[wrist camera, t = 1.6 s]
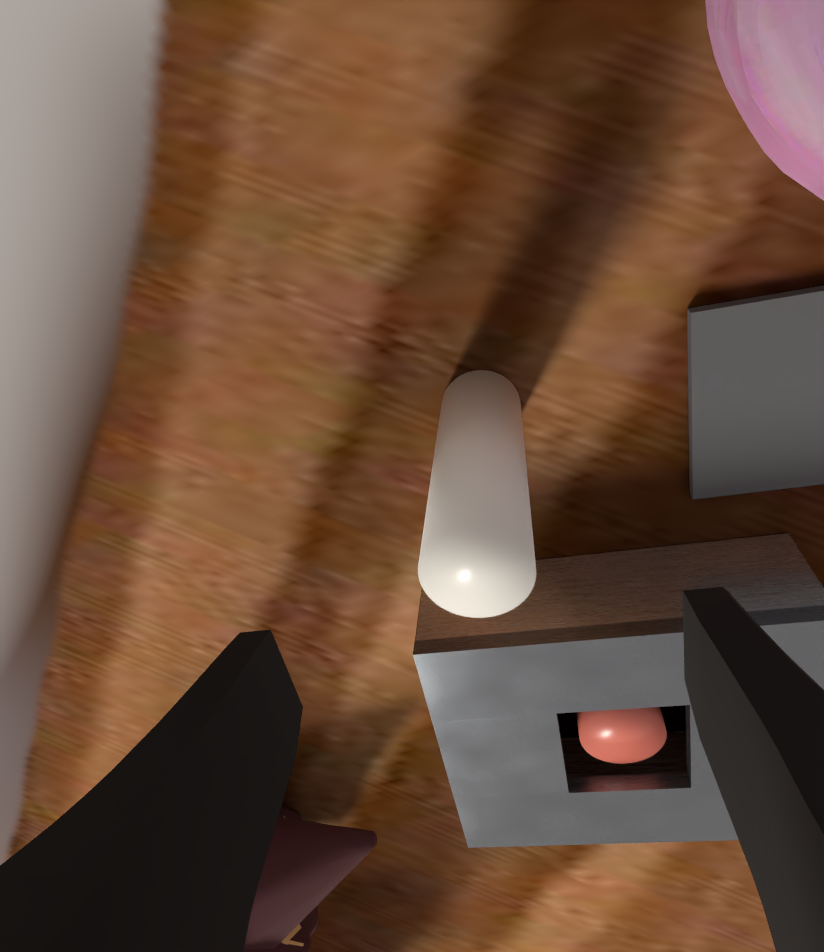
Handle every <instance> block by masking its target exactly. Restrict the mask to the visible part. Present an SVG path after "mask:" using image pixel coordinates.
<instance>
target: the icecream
mask: <svg viewBox="0 0 824 952" xmlns="http://www.w3.org/2000/svg"><path fill="white" fill-rule="evenodd" d="M376 844H377V837H376V834H375V833H374V832H373V831H368V830H363V829H356V828H348V827H341V826H333V825H327V824H321V823H315V822H309V821H303V820H302V819H301V817H300V814H299V813H297V812H295V811H294V810H291V809H290V808H288V807H286V806H284V805H282V806H281V809H280V813H279V816H278V820H277V823H276V826H275V830H274V833H273V836H272V840H271V843H270V847H269V850H268V853H267V857H266V860H265V863H264V867H263V870H262V874H261V877H260V880H259V884H258V887H257V891H256V895H255V899H254V903H253V907H252V911H251V915H250V920H249V925H248V930H247V935H246V941H245V946H244V951H243V952H310V939H311V935H312V934H313V933H314V931H315V930H316V928H317V925H318V904H319V903H320V902H321V901H322V900H323V899H324V898H325V897H326V896H327V895H328V894H329V893H330V892H331V891H332V890H333V889H334V888H335V887H336V886H337V885H338V884H339V883H340V882H341V881H342V880H343V879H344V878H345V877H346V876H347V875H348V874H349V873H350V872H351V871H352V870H353V869H354V868H355V867H356V866H357V865H358V864H359V863H360V862H361V861H362V860H363V859H364V858H365V857H366V856H367V854H368V853H369V852H370V851H371V850H372V849H373V848H374V847H375V845H376Z"/></svg>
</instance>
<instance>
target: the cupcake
mask: <svg viewBox="0 0 824 952" xmlns="http://www.w3.org/2000/svg"><path fill="white" fill-rule="evenodd" d="M705 4H706V15H707V27H708V32H709V36H710V40H711V45H712V49H713V54H714V58H715V60H716V63H717V66H718V68H719V71H720V73H721V76H722V79H723V81H724V84H725V86H726V88H727V90H728V92H729V94H730V96H731V98H732V100H733V102H734V103H735V105H736V107H737V109H738V111H739V113H740V114H741V116H742V118H743V120H744V121H745V123H746V125H747V127H748V128H749V130H750V132H751V133H752V135H753V136H754V138H755V139H756V141H757V142H758V144H759V145H760V147H761V148H762V150H763V151H764V152H765V153H766V155H767V156H768V157H769V158H770V159H771V160H772V161H773V162H774V163H775V164H776V165H777V166H778V168H779V169H780V170H781V171H782V172H784V173H785V174H786V175H788V176H789V177H791V178H792V179H794V180H795V181H796V182H798V183H799V184H801V185H802V186H803V187H805V188H806V189H808V190H809V191H811V192H812V193H813V194H815V195H816V196H818V197H819V198H821V199H822V200H823V201H824V0H705Z"/></svg>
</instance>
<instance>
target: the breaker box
mask: <svg viewBox="0 0 824 952" xmlns="http://www.w3.org/2000/svg"><path fill="white" fill-rule="evenodd" d="M535 563H536V580H535V584H534V587H533V589H532V591H531V593H530V594H529V596H528V597H527V598H526V599H525V600H524V601H523V602H522V603H521V604H520V605H519V606H517V607H516V608H514V609H512V610H510V611H508V612H506V613H503V614H501V615H497V616H493V617H486V618H472V617H465V616H461V615H457V614H454V613H451V612H449V611H447V610H445V609H443V608H441V607H440V606H438V605H437V604H436V603H435V602H433V601H432V600H431V599H430V598H429V597H428V595H427V594H426V593H425V591H424V590H423V588H422V590H421V598H420V605H419V613H418V621H417V628H416V636H415V644H414V651H413V657H414V660H415V664H416V667H417V671H418V674H419V677H420V681H421V684H422V688H423V691H424V695H425V698H426V702H427V705H428V709H429V712H430V716H431V719H432V723H433V726H434V730H435V733H436V737H437V740H438V744H439V747H440V751H441V754H442V758H443V761H444V765H445V768H446V772H447V775H448V779H449V782H450V786H451V789H452V793H453V796H454V800H455V803H456V807H457V810H458V814H459V817H460V821H461V824H462V828H463V831H464V835H465V838H466V842H467V845H468V848H473V847H509V846H544V845H579V844H615V843H650V842H685V841H721V840H739V839H738V837H737V834H736V831H735V829H734V826H733V824H732V821H731V818H730V816H729V813H728V811H727V808H726V806H725V803H724V800H723V798H722V795H721V793H720V790H719V787H718V785H717V782H716V780H715V777H714V774H713V772H712V769H711V766H710V764H709V761H708V759H707V756H706V753H705V751H704V748H703V745H702V743H701V740H700V737H699V733H698V730H697V726H696V722H695V718H694V715H693V711H692V707H691V703H690V699H689V695H688V691H687V687H686V683H685V680H684V634H683V590H693V589H703V588H714V587H723V588H725V589H726V590H727V591H729V592H730V593H731V594H732V596H733V597H734V598H735V599H736V600H737V601H738V603H739V604H740V605H741V606H742V607H743V608H744V609H745V610H746V612H747V613H748V614H749V615H750V616H751V617H752V618H753V619H754V620H755V621H756V623H757V624H758V625H759V626H760V627H761V628H762V629H763V630H764V631H765V632H766V633H767V634H768V635H769V636H770V637H771V638H772V639H773V640H774V642H775V643H776V644H777V645H778V646H779V647H780V648H781V649H782V650H783V651H784V652H785V653H786V654H787V655H788V656H789V657H790V658H791V659H792V660H793V661H794V662H795V663H796V664H797V665H798V666H800V667H801V668H802V669H803V670H804V671H805V672H806V673H807V674H808V675H809V676H810V677H811V678H812V679H813V680H814V681H815V682H816V683H817V684H818V685H819V686H820V687H821V688H823V689H824V588H823V586H822V585H821V583H820V581H819V580H818V578H817V577H816V575H815V574H814V572H813V571H812V569H811V568H810V566H809V564H808V563H807V561H806V560H805V558H804V557H803V555H802V554H801V552H800V550H799V549H798V547H797V546H796V544H795V543H794V541H793V540H792V538H791V537H790V535H789V533H785V534H776V535H767V536H757V537H748V538H739V539H729V540H720V541H711V542H701V543H692V544H682V545H673V546H664V547H654V548H645V549H636V550H626V551H617V552H608V553H598V554H589V555H579V556H570V557H561V558H551V559H542V560H535ZM681 705H685V706H686V731H677V732H667V738H666V741H665V743H664V745H663V747H662V748H661V749H660V750H659V751H658V752H657V753H656V754H654V755H653V756H651V757H649V758H647V759H644V760H642V761H638V762H634V763H625V764H618V763H610V762H605V761H602V760H599V759H597V758H595V757H593V756H592V755H590V754H589V753H588V752H586V750H585V749H584V748H583V747H582V745H581V743H580V739H579V737H572V738H561V735H560V728H559V722H558V715H557V713H572V712H588V711H603V710H619V709H635V708H650V707H666V706H681Z"/></svg>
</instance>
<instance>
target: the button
mask: <svg viewBox="0 0 824 952" xmlns="http://www.w3.org/2000/svg"><path fill="white" fill-rule="evenodd" d="M576 717H577V724H578V731H579V739H580V743H581V745H582V747H583V748H584V749H585V750H586V752H588V753H589V754H590V755H592V756H593V757H595V758H597V759H599V760H602V761H605V762H610V763H618V764H625V763H634V762H638V761H642V760H644V759H647V758H649V757H651V756H653V755H654V754H656V753H657V752H658V751H659V750H660V749H661V748H662V747H663V745H664V743H665V741H666V738H667V732H666V727H665V723H664V720H663V716H662V712H661V708H660V707H650V708H635V709H619V710H603V711H588V712H576Z"/></svg>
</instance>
